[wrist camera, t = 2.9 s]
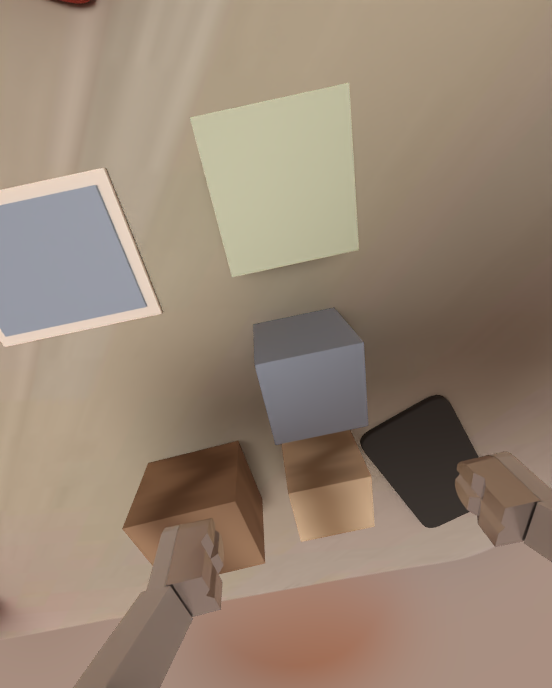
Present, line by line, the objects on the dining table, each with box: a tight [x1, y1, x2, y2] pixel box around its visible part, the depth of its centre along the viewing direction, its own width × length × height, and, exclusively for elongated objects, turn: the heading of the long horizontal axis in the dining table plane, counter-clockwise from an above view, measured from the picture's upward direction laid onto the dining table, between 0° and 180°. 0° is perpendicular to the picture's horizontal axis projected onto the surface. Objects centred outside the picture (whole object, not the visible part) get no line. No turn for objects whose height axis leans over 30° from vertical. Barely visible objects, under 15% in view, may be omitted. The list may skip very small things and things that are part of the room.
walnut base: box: [122, 441, 265, 574], centre depth 20 cm, size 7×7×5 cm
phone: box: [361, 395, 478, 528], centre depth 24 cm, size 7×1×15 cm
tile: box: [0, 168, 163, 347], centre depth 14 cm, size 9×7×1 cm
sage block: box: [190, 83, 359, 277], centre depth 12 cm, size 5×5×5 cm
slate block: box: [253, 308, 368, 445], centre depth 16 cm, size 5×5×5 cm
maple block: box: [282, 430, 374, 542], centre depth 20 cm, size 5×5×5 cm
